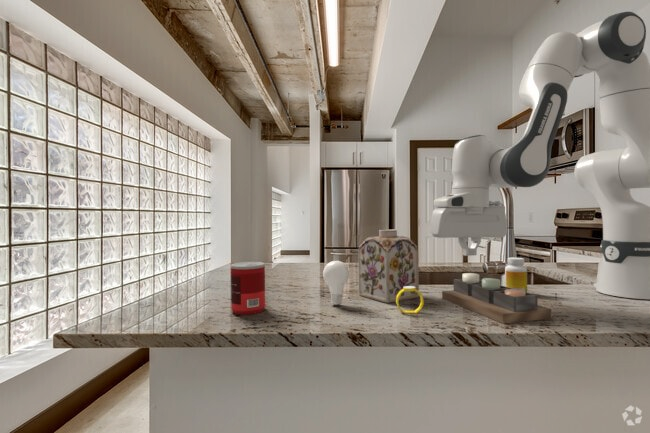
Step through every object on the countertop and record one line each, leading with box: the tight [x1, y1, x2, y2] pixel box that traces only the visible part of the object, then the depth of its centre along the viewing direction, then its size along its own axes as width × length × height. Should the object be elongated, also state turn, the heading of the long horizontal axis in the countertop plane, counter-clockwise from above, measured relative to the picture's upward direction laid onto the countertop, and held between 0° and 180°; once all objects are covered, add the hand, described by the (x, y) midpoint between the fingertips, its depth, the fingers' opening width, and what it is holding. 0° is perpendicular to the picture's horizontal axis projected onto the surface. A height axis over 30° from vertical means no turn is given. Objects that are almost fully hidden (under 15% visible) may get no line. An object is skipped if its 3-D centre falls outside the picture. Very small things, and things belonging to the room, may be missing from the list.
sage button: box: [481, 277, 501, 289], centre depth 88 cm, size 4×4×3 cm
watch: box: [395, 286, 425, 315], centre depth 85 cm, size 6×3×6 cm, turn 89°
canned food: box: [230, 261, 266, 316], centre depth 89 cm, size 8×8×11 cm
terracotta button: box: [505, 289, 525, 297], centre depth 81 cm, size 4×4×3 cm
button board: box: [441, 278, 552, 325], centre depth 88 cm, size 12×22×5 cm, turn 15°
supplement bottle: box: [504, 256, 528, 293], centre depth 102 cm, size 5×5×10 cm
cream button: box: [461, 272, 480, 283], centre depth 96 cm, size 4×4×3 cm
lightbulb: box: [322, 260, 350, 307], centre depth 92 cm, size 6×6×11 cm
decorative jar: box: [357, 228, 420, 304], centre depth 101 cm, size 12×12×18 cm
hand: (469, 255), depth 95 cm, fingers closed
